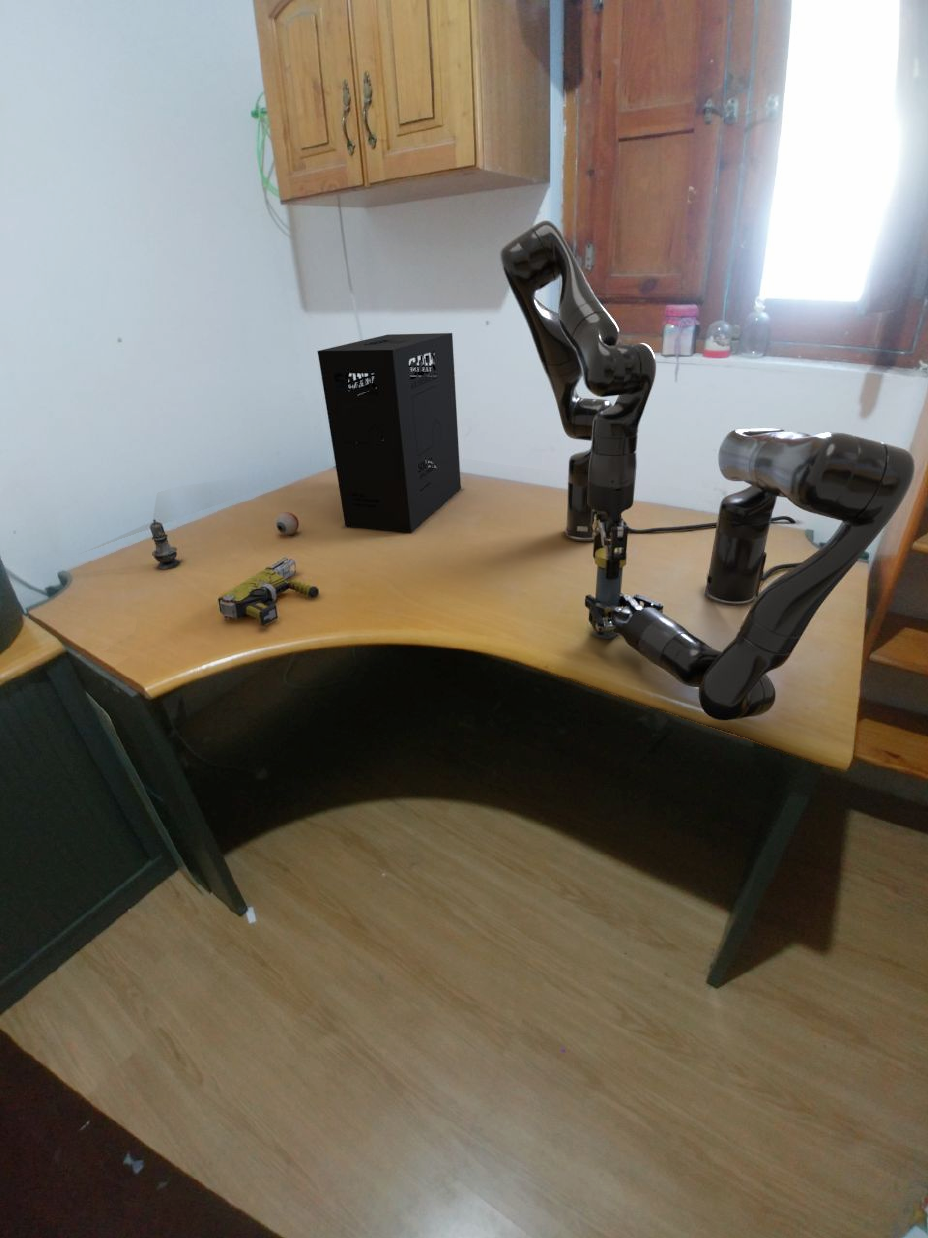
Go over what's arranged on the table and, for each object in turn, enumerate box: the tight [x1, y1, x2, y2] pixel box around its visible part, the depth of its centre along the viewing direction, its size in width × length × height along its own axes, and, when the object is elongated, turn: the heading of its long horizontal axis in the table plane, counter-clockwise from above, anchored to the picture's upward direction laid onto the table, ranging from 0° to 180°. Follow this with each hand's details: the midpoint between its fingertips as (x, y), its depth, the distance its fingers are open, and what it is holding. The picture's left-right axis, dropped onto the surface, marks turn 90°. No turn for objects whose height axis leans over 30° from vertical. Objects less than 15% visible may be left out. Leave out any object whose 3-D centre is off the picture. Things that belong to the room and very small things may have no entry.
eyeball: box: [275, 511, 300, 536], centre depth 163 cm, size 6×6×6 cm
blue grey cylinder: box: [592, 565, 624, 640], centre depth 109 cm, size 4×4×16 cm
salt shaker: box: [149, 519, 181, 570], centre depth 148 cm, size 6×6×12 cm
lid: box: [594, 547, 628, 568], centre depth 105 cm, size 5×5×2 cm
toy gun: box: [217, 557, 320, 627], centre depth 130 cm, size 5×24×15 cm
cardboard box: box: [317, 332, 462, 534], centre depth 168 cm, size 38×20×45 cm, turn 159°
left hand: (605, 568), depth 107 cm, fingers open, 7 cm apart
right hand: (598, 596), depth 112 cm, fingers closed on blue grey cylinder, 4 cm apart
